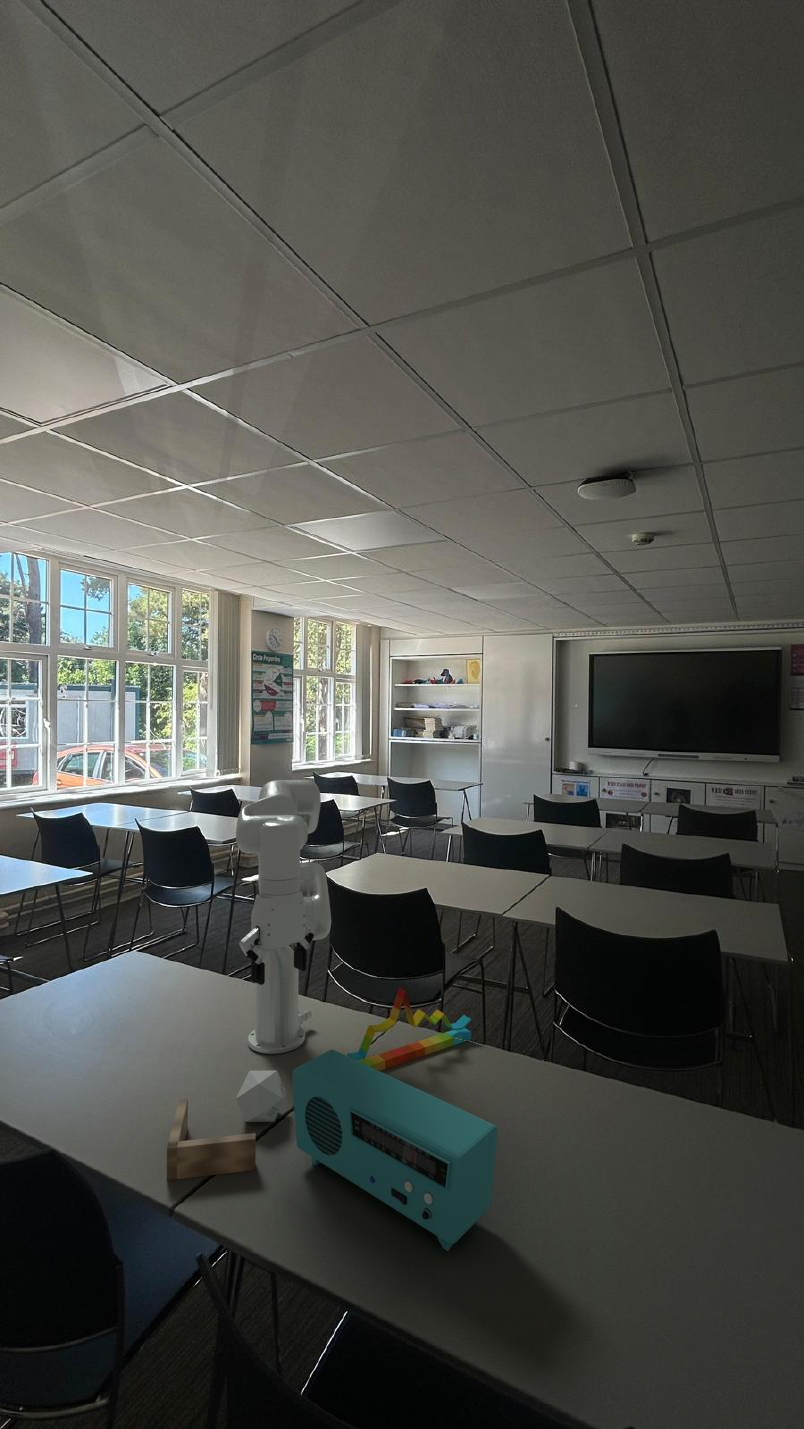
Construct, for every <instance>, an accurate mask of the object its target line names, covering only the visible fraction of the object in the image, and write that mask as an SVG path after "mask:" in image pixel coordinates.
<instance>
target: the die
mask: <svg viewBox="0 0 804 1429" xmlns="http://www.w3.org/2000/svg"><path fill="white" fill-rule="evenodd" d="M283 1084H284V1083H283V1082H282V1079H281V1077H280V1074H279V1072H278V1070H249V1071H248V1073H247V1075H246V1077H245V1079H244V1081H243V1083H242V1084H241V1088H240V1089H239V1092H238V1093H237V1095H236V1098H235V1100H236V1103H237V1105H238V1107H239V1110H240V1112H241V1114H242V1117H243V1119H244V1122H245V1123H275V1121H276V1119H277V1117H278V1113H279V1111H280V1109H281V1107H282V1104H283V1102H284V1100H285V1098H286V1095H287V1092H286V1089H285V1087H284V1085H283Z"/></svg>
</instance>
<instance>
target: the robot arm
mask: <svg viewBox="0 0 804 1429" xmlns="http://www.w3.org/2000/svg"><path fill="white" fill-rule="evenodd" d="M319 788H320V787H319V786H318V785H317V783H316V782H314V781H313V780H310V779H275V780H271V781H268V782H266V784H264V785H263V786H262V787H261V789H260V791H259V795H258V800H257V801H254V802H251V803H249V804H247V805H245V806H244V807H242V808H241V810H240V812H239V813H238V817H237V822H236V829H235V841H236V842H235V843H236V846H237V848H238V849H239V851H240V852H242V853H245V854H256V856H257V859H258V880H257V881H258V892H259V894H258V893H257V894H256V895H255V899H254V903H253V908H252V911H251V919H250V920H251V927H250V928H251V929H250V932H249V933H248V934H246V935H245V936H244V937H243V938H242V939H241V940H240V941H239V942H238V944H239V947H240V949H241V950H242V953H243V955H244V956H245V957H246V959H248V960H249V961H251V964H250V965H251V967H250V971H251V973H250V974H251V975H250V976H251V980H252V982H253V983H255V984H254V985H255V986H254V988H255V989H254V992H255V993H254V1003H255V1005H254V1007H255V1009H254V1029H253V1030H252V1031H251V1032H250V1033H249V1035H248V1036H247V1045H248V1047H249V1048H251V1050H252V1051H255V1052H257V1053H260V1054H267V1055H276V1054H277V1055H278V1054H284V1053H288V1052H291V1051H293V1050H296V1049H298V1048H299V1047H300V1046H301V1045H303V1043H304V1042H305V1040H306V1032H305V1030H304V1028H302V1025H303V1024H304V1022H305V1021H306V1022H307V1020H310V1019H312V1017H313V1013H312V1011H311V1010H310V1009H307V1010H305V1011H302V1012H301V1013H300V1011H299V974H300V973H299V971H302V972H305V971H307V962H308V960H307V959H308V958H307V957H308V954H307V953H308V952H307V951H308V950H309V949H310V944H311V942H312V941H318V940H322V939H325V938H326V937H327V936H328V935H329V933H330V931H331V927H332V926H331V925H332V915H331V906H330V896H329V888H328V881H327V874H326V871H325V869H324V867H323V866H322V865H321V864H319V863H318V862H310V861H309V862H301V850H302V849H303V847H304V846H305V844H306V843H307V841H308V837H309V836H308V835H309V834H312V833H313V832H315V831H316V829H317V827H318V823H319V817H320V811H321V798H322V797H321V792H320V789H319ZM294 944H295V946H294V947H293V948H292V947H291V945H294ZM251 946H254V947H253V948H252V947H251Z"/></svg>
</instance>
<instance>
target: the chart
mask: <svg viewBox="0 0 804 1429" xmlns="http://www.w3.org/2000/svg"><path fill="white" fill-rule="evenodd" d="M402 1006H403V1008H404V1011H405V1014H406V1019H407V1022H408V1024H409V1025H411V1026H412V1027H414V1028H415V1029H417V1027H418V1026H419V1025H420V1023H421V1022H422V1020H424V1019H426V1020H427V1021H428V1022H429V1023H431V1024H432V1025H434V1026H435V1025H437V1024H438V1023H439V1021H441V1020H442V1022H443V1023H444V1025H445V1027H447V1028H449V1029H450V1030H449V1031H445V1032H442V1033H438V1034H437V1035H436V1034H435V1035H433V1036H430V1037H428V1038H425V1039H421V1040H418V1041H414V1042H411V1043H409V1044H405V1045H403V1046H400V1047H397V1048H393V1049H390V1050H387V1051H385V1052H382V1053H379V1054H376V1055H372V1056H369V1057H367V1054H368V1051H369V1050H370V1046H371V1044H372V1042H373V1039H374V1036H375V1034H376V1033H380V1032H381V1033H382V1032H387V1031H388V1030H389V1029H391V1028H393V1027H394V1026H395V1025H396V1024H397V1022H398V1018H399V1016H400V1013H401V1009H402ZM391 1007H392V1008H391V1010H390V1011H391V1012H390V1013H389V1017H388V1018H386V1019H385V1020H383V1021H382V1022H381V1023H379V1024H372V1025H370V1024H369V1025H368V1027H367V1029H366V1031H365V1034H364V1037H363V1038H362V1041H361V1044H360V1046H359V1049H358V1051H355V1052H349V1053H348V1052H347V1054H346V1056H348V1057H350V1058H352V1059H355V1060H357V1061H359V1062H361V1063H363V1064H365V1065H367V1066H370V1067H372V1068H374V1069H376V1070H378V1071H380V1072H381V1071H383V1070H385V1069H388V1068H391V1067H394V1066H397V1065H401V1064H403V1063H407V1062H409V1061H412V1060H415V1059H417V1058H421V1057H423V1056H427V1055H430V1054H432V1053H435V1052H438V1051H441V1050H444V1049H447V1048H449V1047H453V1046H456V1045H458V1044H461V1043H463V1042H467V1041H470V1040H471V1039H472V1032H471V1030H469V1029H467V1028H466V1026H468V1024H470V1022H471V1021H472V1019H471V1018H470V1017H468V1016H466V1015H465V1014H463V1015H462V1016H461V1017H459V1019H458V1020H457V1021H456V1022H454V1023H450V1021H449V1019H448V1017H447V1015H446V1014H445V1013H443V1012H442V1011H440V1010H439V1009H436V1010H435V1011H433V1013H432V1014H431V1015H430V1016H429V1015H428V1014H427V1013H425V1012H424V1011H422V1010H421V1009H419V1008H418V1009H417V1010H416V1011H415V1013H414V1014H413V1012H412V1007H411V1004H410V1001H409V997H408V993H407V991H406V990H404V989H403V988H402V987H400V986H399V987H398V990H397V993H396V996H395V999H394V1002H393V1004H392V1006H391ZM446 1036H448V1037H446ZM452 1037H453V1038H452ZM455 1038H458V1039H455ZM459 1039H462V1040H459ZM464 1040H466V1041H464Z"/></svg>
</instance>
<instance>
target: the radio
mask: <svg viewBox="0 0 804 1429" xmlns="http://www.w3.org/2000/svg"><path fill="white" fill-rule="evenodd" d="M291 1077H292V1078H291V1079H292V1092H293V1093H292V1094H293V1108H294V1109H293V1110H294V1111H293V1112H294V1122H295V1123H294V1125H295V1126H294V1127H295V1138H296V1139H295V1141H296V1147H297V1148H298V1149H299V1150H301V1151H302V1152H304V1153H305V1154H307V1155H308V1156H310V1157H311V1164H312V1165H313V1166H315V1167H316V1166H318V1165H320V1164H323V1165H325V1167H327V1168H329V1169H331V1170H332V1171H334V1172H335V1173H337V1174H338V1175H340V1176H342V1177H343V1178H345V1179H346V1180H348V1181H350V1182H351V1183H353V1184H354V1185H356V1186H358V1187H359V1188H361V1189H362V1190H363V1191H365V1192H367V1193H368V1194H370V1195H371V1196H373V1197H375V1198H377V1200H380V1201H381V1202H382V1203H384V1204H386V1205H387V1206H389V1207H390V1208H392V1209H394V1210H395V1211H397V1212H399V1213H400V1214H402V1215H403V1216H404V1217H406V1218H408V1219H409V1220H411V1221H412V1222H415V1223H416V1224H418V1225H419V1226H421V1227H422V1228H424V1229H426V1230H427V1231H428V1232H430V1233H432V1234H433V1235H435V1236H436V1237H437V1239H438V1241H439V1243H440V1245H441V1247H442V1249H443V1250H445V1251H447V1252H448V1251H449V1250H450V1249H451V1248H452V1246H453V1245H454V1244H455V1243H457V1242H458V1241H459V1240H460V1239H461V1238H462V1237H463V1235H465V1233H467V1232H468V1230H470V1228H472V1226H473V1225H475V1223H476V1222H477V1221H478V1220H479V1219H480V1218H481V1217H482V1216H483V1215H484V1214H485V1213H486V1212H487V1211H488V1210H489V1208H490V1206H491V1199H492V1191H493V1190H492V1189H493V1183H494V1182H493V1181H494V1172H495V1162H496V1153H497V1141H498V1132H499V1130H498V1127H497V1126H496V1125H495V1124H494V1123H491V1122H489V1121H487V1120H485V1119H483V1118H481V1117H478V1116H477V1115H474V1114H472V1113H470V1112H468V1111H466V1110H463V1109H461V1108H460V1107H457V1106H455V1105H453V1104H451V1103H448V1102H446V1101H444V1100H443V1099H440V1098H438V1097H435V1096H433V1095H431V1094H429V1093H428V1092H425V1091H423V1090H421V1089H418V1088H416V1087H414V1086H413V1085H410V1084H407V1083H406V1082H403V1081H401V1080H399V1079H397V1078H395V1077H392V1076H391V1075H389V1074H387V1073H385V1072H382V1071H381V1070H380V1071H378V1070H376V1069H374V1068H372V1067H370V1066H367V1065H365V1064H363V1063H361V1062H359V1060H355V1059H352V1058H350V1057H348V1056H347V1054H346V1055H345V1054H344V1053H342V1052H340V1051H337V1050H335V1049H329V1050H328V1051H325V1052H323V1053H321V1054H320V1055H317V1056H315V1057H314V1058H312V1059H310V1060H308V1061H306V1062H304V1063H303V1064H300V1065H299V1066H297V1067H295V1068H294V1069H293V1070H292V1074H291Z"/></svg>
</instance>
